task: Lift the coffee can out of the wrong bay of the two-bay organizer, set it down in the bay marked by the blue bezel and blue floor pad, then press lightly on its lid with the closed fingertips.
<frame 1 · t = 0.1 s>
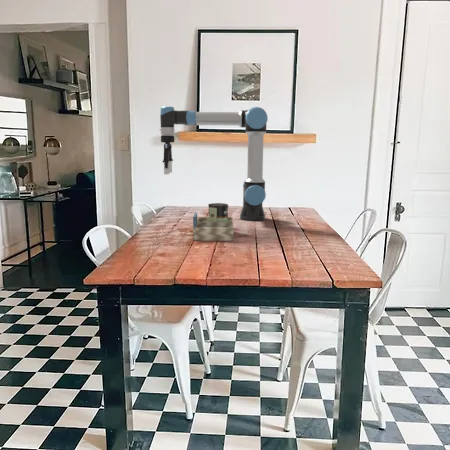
hand: (168, 173, 265), 28 cm above the table, fingers open, 13 cm apart
organizer: (215, 233, 238), on the table
coffee can: (218, 231, 246), on the table
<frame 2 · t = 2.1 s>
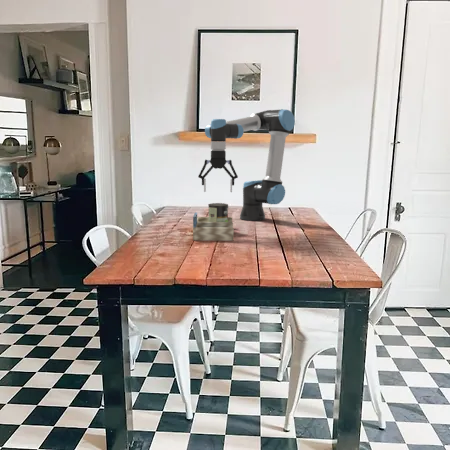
hand: (217, 191, 242), 21 cm above the table, fingers open, 13 cm apart
nothing on the table moved.
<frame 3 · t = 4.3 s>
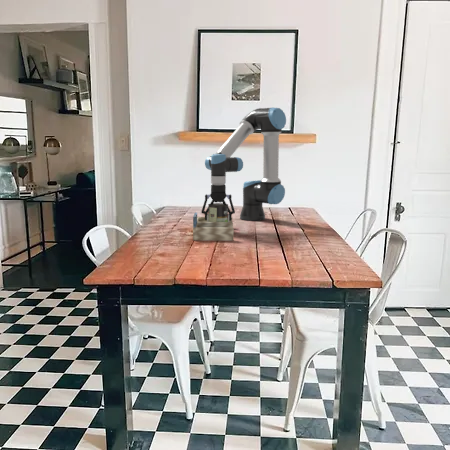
hand: (218, 226, 245), 2 cm above the table, fingers closed on coffee can, 10 cm apart
coffee can: (218, 231, 246), on the table, touching gripper
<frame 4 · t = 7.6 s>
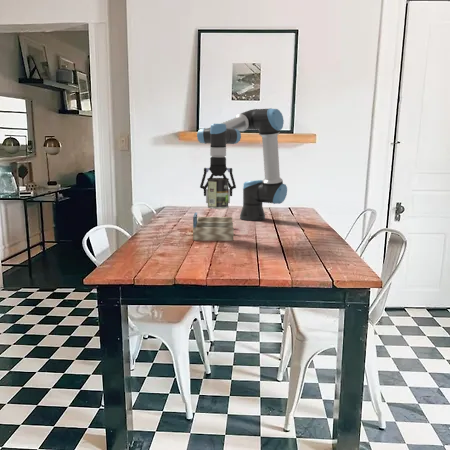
hand: (217, 202, 227), 17 cm above the table, fingers closed on coffee can, 10 cm apart
coffee can: (217, 207, 228), point 14 cm above the table, touching gripper
when the fingers open (4 cm above the table, at t = 10.8 s): coffee can drops 1 cm, resting on organizer.
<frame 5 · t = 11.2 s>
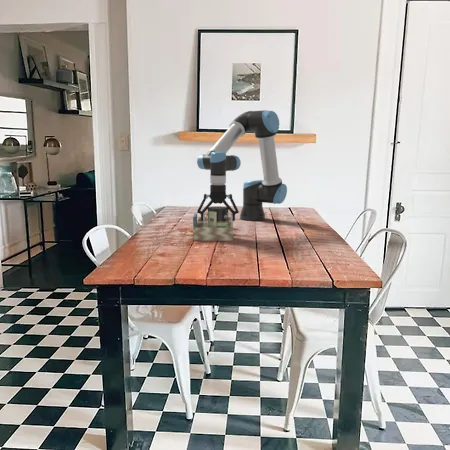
hand: (217, 227, 230), 5 cm above the table, fingers open, 13 cm apart
coffee can: (218, 236, 231), resting on organizer
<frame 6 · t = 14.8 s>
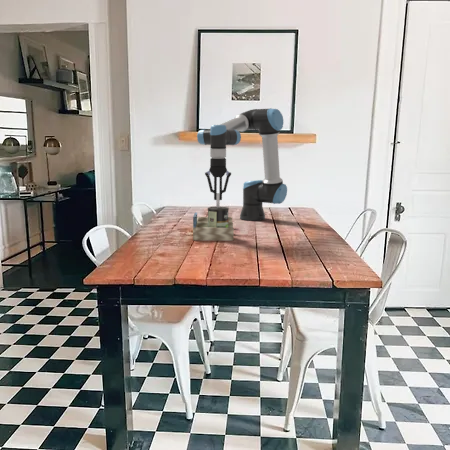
hand: (217, 206, 228), 15 cm above the table, fingers closed
nothing on the table moved.
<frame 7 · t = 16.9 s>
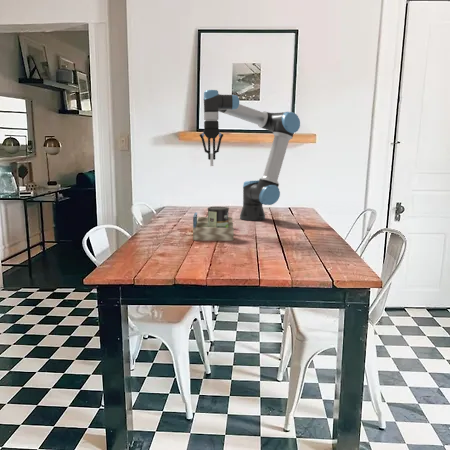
hand: (211, 165, 250), 33 cm above the table, fingers closed
nothing on the table moved.
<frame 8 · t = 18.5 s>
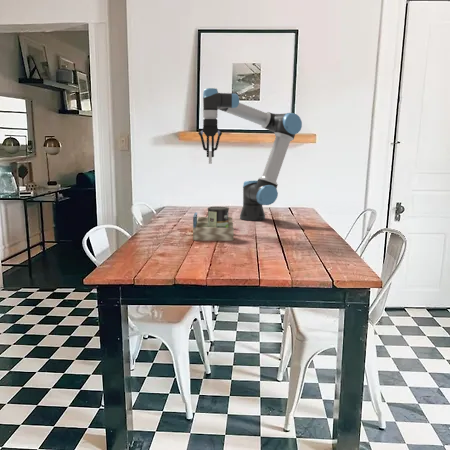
hand: (210, 163, 252), 34 cm above the table, fingers closed
nothing on the table moved.
at the end: coffee can inside the target area on the organizer (0.7 cm from its centre), point 0.1 cm above the organizer's base; coffee can tilted 0°; the gripper is holding nothing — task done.
